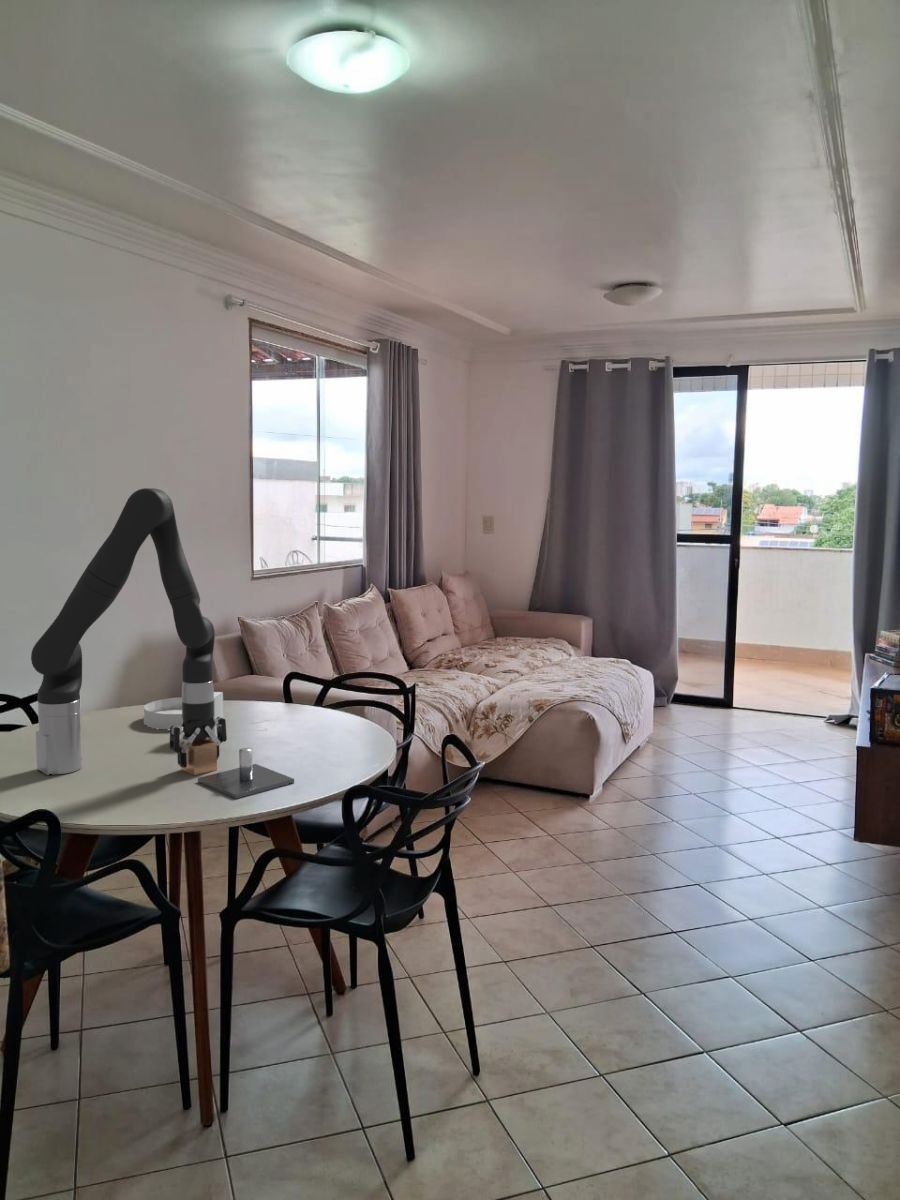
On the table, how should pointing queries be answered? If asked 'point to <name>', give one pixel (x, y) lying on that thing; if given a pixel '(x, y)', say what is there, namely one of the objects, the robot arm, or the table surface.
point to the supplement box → (217, 708)
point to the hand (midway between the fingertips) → (198, 763)
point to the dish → (164, 713)
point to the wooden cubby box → (201, 757)
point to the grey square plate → (245, 778)
